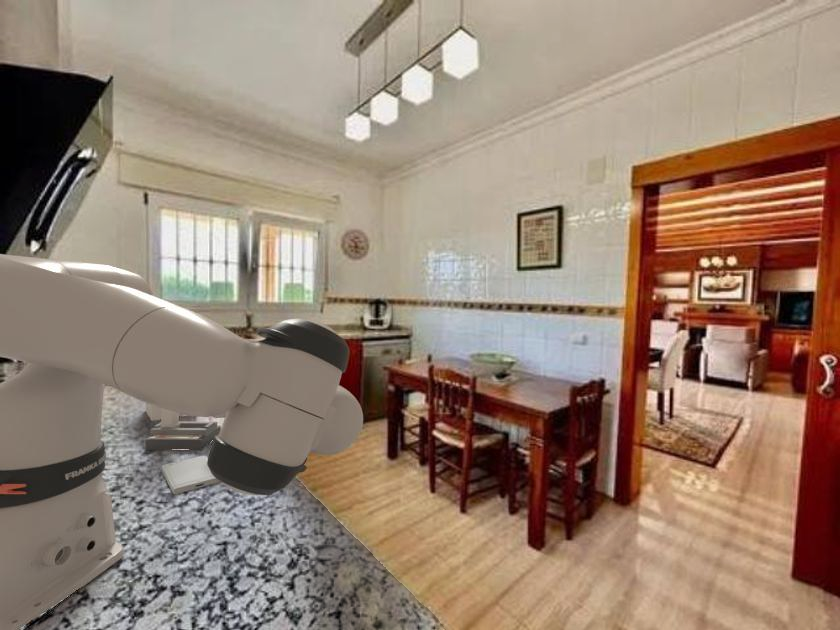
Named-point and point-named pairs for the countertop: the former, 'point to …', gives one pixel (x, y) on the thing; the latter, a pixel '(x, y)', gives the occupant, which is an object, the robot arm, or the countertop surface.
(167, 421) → the grey and orange bar
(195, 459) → the hard drive
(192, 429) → the switch base
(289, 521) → the countertop surface
